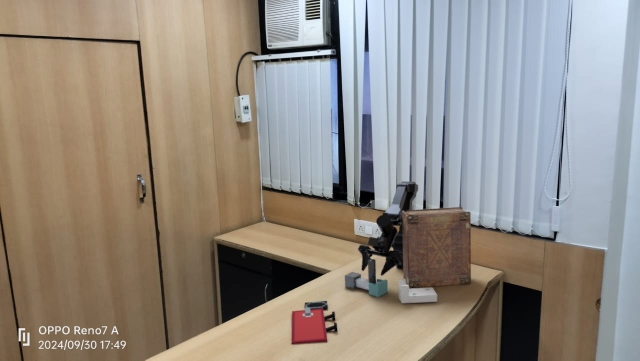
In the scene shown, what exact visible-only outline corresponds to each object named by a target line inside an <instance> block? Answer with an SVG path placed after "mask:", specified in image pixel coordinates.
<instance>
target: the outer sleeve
mask: <svg viewBox="0 0 640 361" xmlns="http://www.w3.org/2000/svg"><path fill="white" fill-rule="evenodd" d="M357 277H361V278H362V274H361V273H358V272H354V271H352V272H348V273H347V274H345V275H344V286H345V288H347V289H350V290H356V289H357V288H359V287H356V286H355V278H357Z"/></svg>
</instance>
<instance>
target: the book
mask: <svg viewBox="0 0 640 361" xmlns="http://www.w3.org/2000/svg"><path fill="white" fill-rule="evenodd" d="M471 218H472V217H471V212H470V211H469V210H468V211H465V210H463V207H462V206H458V207H457V206H455V207H440V208H439V207H437V208H424V209H423V208H422V209H420V208H419V209H411V210H405V211H402V232H403V269H402V270H403V279H405V280H406V285H409V289H413V288H437V287H448V286H449V287H450V286H464V285H471V283H472V282H471V280H472V276H471V274H472V273H471V272H472V266H471V265H472V262H471V261H472V257H471V256H472V251H471V250H472V249H471V248H472V245H471V239H472V238H471V236H472V235H471V232H472V231H471V230H472V229H471V226H472V225H471V221H472V219H471Z"/></svg>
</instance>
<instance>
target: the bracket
mask: <svg viewBox="0 0 640 361" xmlns="http://www.w3.org/2000/svg"><path fill="white" fill-rule="evenodd" d="M397 281H398V283H397V284H398V299H399V302H401V304H411V303H412V304H414V303H415V304H416V303H432V302H433V303H434V302H436V303H437V302H438V294H437V293H436V291H435V289H434V287H422V288H409V285H407V284H406V280H405V279H404V278H398V279H397Z"/></svg>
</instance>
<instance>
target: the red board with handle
mask: <svg viewBox="0 0 640 361" xmlns="http://www.w3.org/2000/svg"><path fill="white" fill-rule="evenodd" d="M324 309H329V305H328V300H321V301H319V300H318V301H309V302H306V301H305V302H304V309H302V310H292V311H291V345H299V344H314V343H328V334H327V333H328V332H331V331H333V330H334V333H338V332H339V331H338V323H337V322H334V323H333V325H331V326H328V327H327V326H326V321H327V320H330V319H332V321H336V312H335V311H332V312H331V314H329V315H328V314H327V315H325V314H324V312H325V311H324Z"/></svg>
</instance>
